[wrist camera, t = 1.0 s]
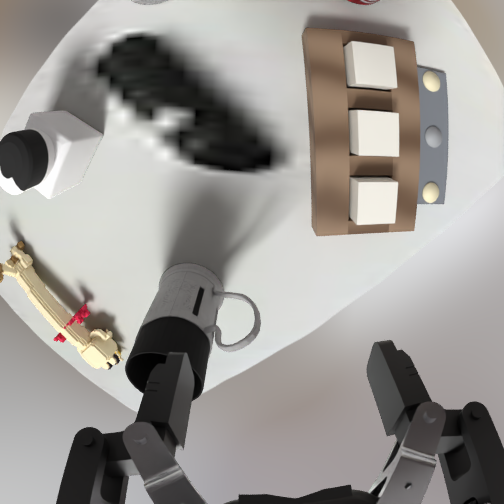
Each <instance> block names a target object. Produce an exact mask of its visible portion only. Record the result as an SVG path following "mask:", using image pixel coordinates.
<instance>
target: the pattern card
mask: <svg viewBox="0 0 504 504" xmlns="http://www.w3.org/2000/svg"><path fill="white" fill-rule="evenodd" d="M417 72H418V84H419V100H420V170H419V186H418V199H417V204H444V200H445V190H446V179H447V163H448V97H447V82H446V74H445V73H441V72H437V71H433V70H428V69H424V68H419V67H417Z"/></svg>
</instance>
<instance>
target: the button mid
mask: <svg viewBox="0 0 504 504" xmlns="http://www.w3.org/2000/svg"><path fill="white" fill-rule="evenodd" d="M348 120H349V152H351V153H353V154H356V155H359V156H392V157H399V113H391V112H380V111H366V110H350V111H348Z"/></svg>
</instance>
